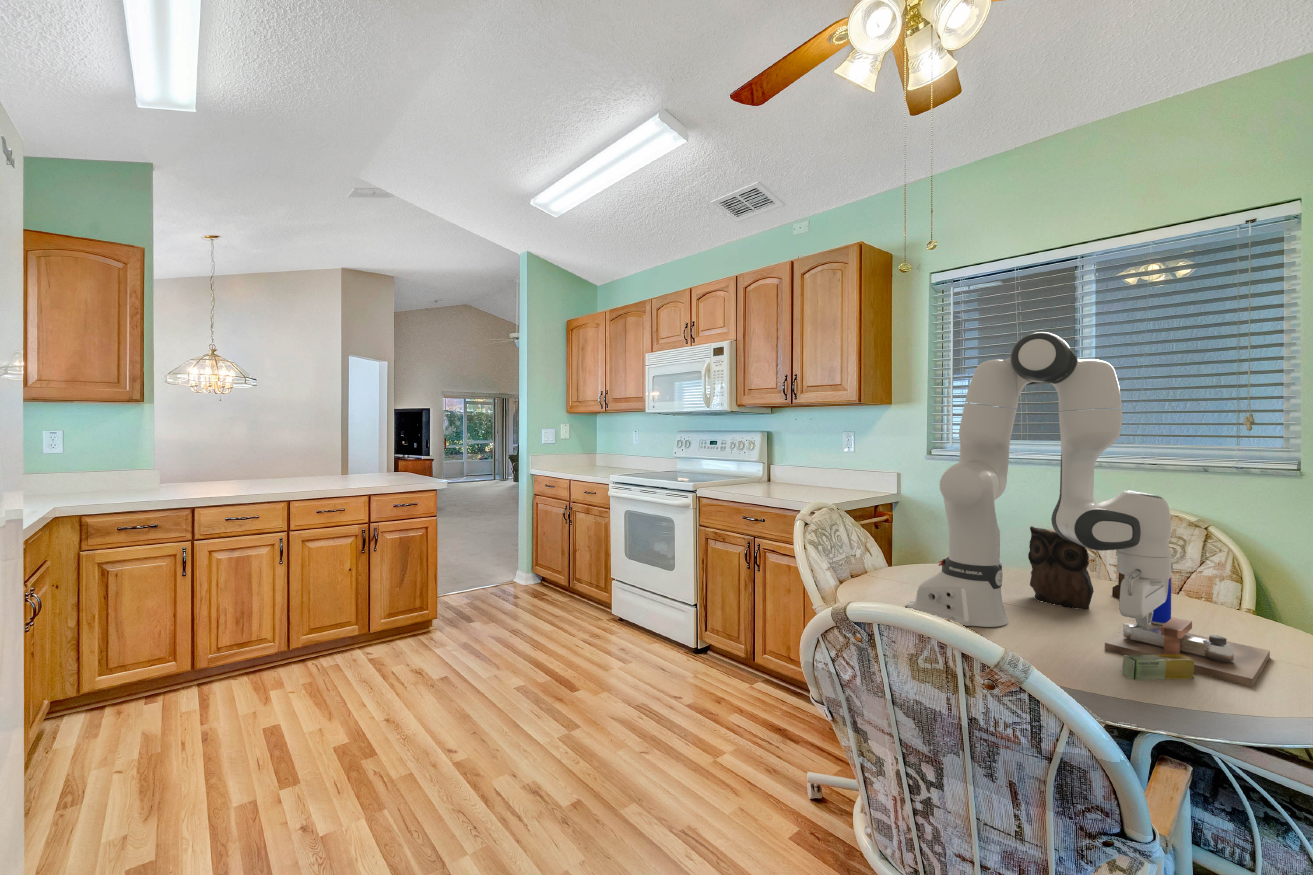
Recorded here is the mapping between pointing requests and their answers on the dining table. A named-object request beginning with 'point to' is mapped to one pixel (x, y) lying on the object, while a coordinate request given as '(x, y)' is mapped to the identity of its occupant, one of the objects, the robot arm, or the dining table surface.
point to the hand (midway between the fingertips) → (1143, 630)
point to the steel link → (1186, 642)
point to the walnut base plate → (1237, 671)
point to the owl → (1059, 570)
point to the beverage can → (1163, 610)
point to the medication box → (1158, 666)
